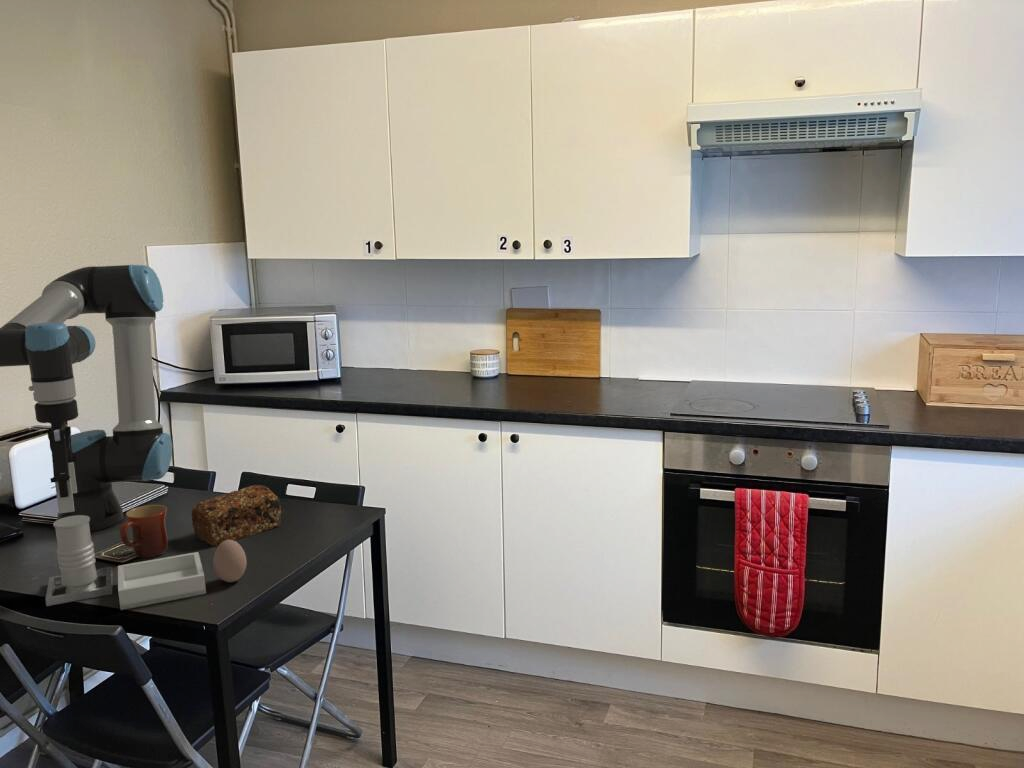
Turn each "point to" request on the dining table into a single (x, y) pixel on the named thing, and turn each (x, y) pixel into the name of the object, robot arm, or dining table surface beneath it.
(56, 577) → the grey square frame
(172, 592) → the bin
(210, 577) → the dining table surface
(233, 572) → the egg
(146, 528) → the mug
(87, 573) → the grey tall round piece
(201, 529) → the bread
